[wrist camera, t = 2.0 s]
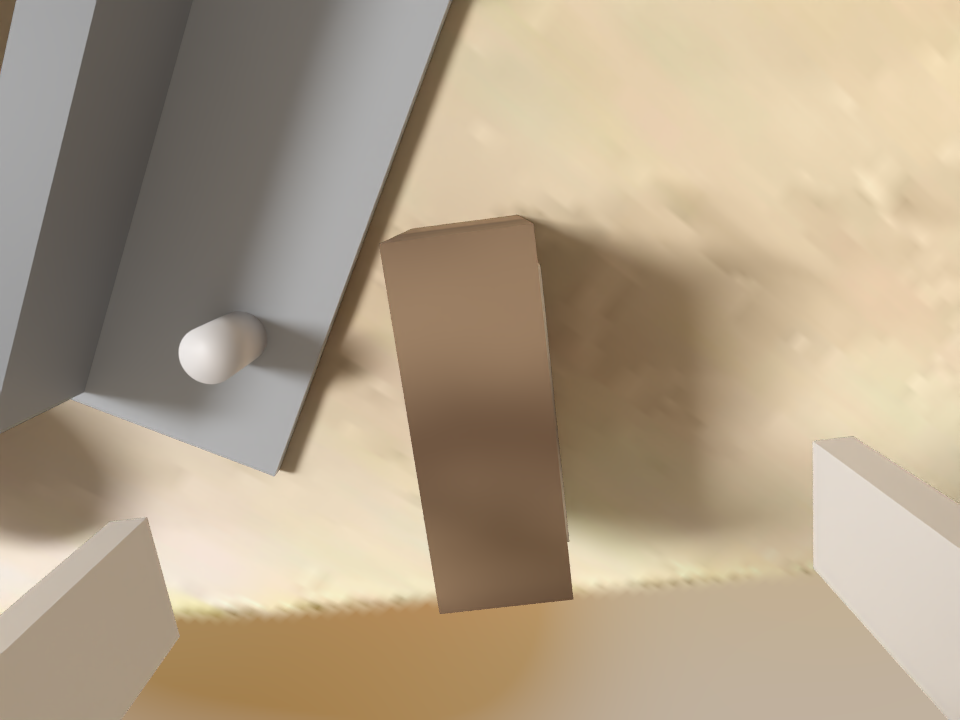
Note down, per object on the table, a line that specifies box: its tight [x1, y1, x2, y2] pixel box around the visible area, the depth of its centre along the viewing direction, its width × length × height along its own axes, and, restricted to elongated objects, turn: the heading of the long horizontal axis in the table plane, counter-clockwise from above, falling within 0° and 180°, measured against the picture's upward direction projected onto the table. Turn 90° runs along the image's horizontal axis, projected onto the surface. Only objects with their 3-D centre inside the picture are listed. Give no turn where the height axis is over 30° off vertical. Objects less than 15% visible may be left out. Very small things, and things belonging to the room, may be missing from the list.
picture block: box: [379, 215, 573, 614], centre depth 22 cm, size 11×4×8 cm, turn 7°
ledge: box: [0, 0, 452, 476], centre depth 21 cm, size 25×11×6 cm, turn 157°
